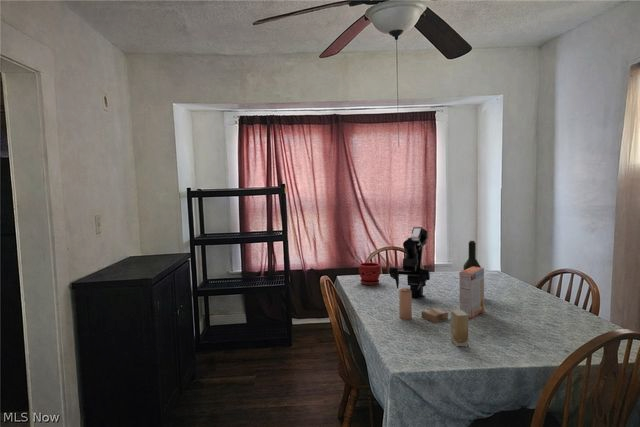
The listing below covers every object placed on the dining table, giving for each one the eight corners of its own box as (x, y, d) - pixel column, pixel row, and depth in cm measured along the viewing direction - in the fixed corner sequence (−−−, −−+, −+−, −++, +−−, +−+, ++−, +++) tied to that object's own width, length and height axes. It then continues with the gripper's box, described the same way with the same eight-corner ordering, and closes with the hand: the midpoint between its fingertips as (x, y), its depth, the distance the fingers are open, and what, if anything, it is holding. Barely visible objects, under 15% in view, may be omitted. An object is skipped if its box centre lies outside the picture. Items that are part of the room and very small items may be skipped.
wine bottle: (480, 295, 202) (481, 240, 199) (480, 300, 194) (480, 242, 192) (464, 294, 205) (464, 239, 203) (462, 298, 198) (462, 241, 195)
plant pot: (382, 285, 226) (382, 266, 225) (360, 286, 227) (359, 266, 226) (379, 280, 239) (378, 261, 238) (358, 280, 240) (358, 262, 239)
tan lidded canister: (405, 314, 177) (405, 287, 176) (414, 318, 172) (414, 290, 171) (396, 317, 174) (396, 289, 173) (405, 320, 169) (405, 292, 168)
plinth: (433, 313, 177) (433, 307, 176) (447, 318, 170) (447, 312, 169) (421, 317, 172) (421, 310, 172) (435, 322, 166) (435, 315, 165)
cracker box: (472, 308, 182) (472, 265, 180) (484, 311, 178) (485, 267, 176) (458, 316, 172) (458, 271, 171) (471, 319, 168) (472, 273, 166)
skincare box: (450, 340, 147) (450, 309, 146) (461, 339, 147) (461, 309, 146) (457, 347, 140) (457, 315, 140) (468, 346, 141) (469, 314, 140)
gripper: (389, 250, 184) (384, 278, 175) (429, 252, 177) (426, 281, 168) (392, 263, 192) (388, 290, 183) (431, 265, 185) (428, 293, 175)
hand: (407, 288), depth 177 cm, fingers open, 9 cm apart
